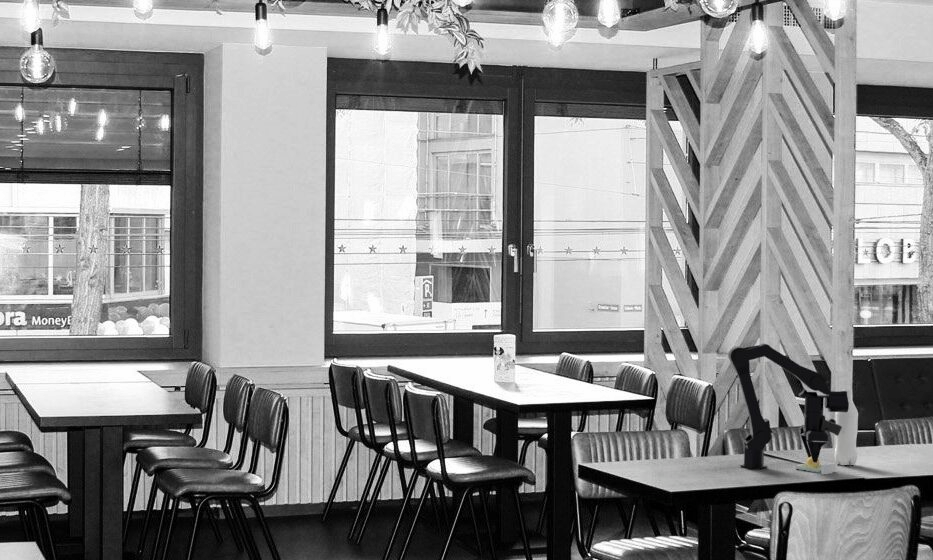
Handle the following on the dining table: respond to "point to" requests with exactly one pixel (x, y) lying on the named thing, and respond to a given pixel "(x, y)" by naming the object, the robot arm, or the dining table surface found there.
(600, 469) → the dining table surface
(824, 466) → the wall
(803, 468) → the dish
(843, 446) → the water bottle
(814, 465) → the ball
